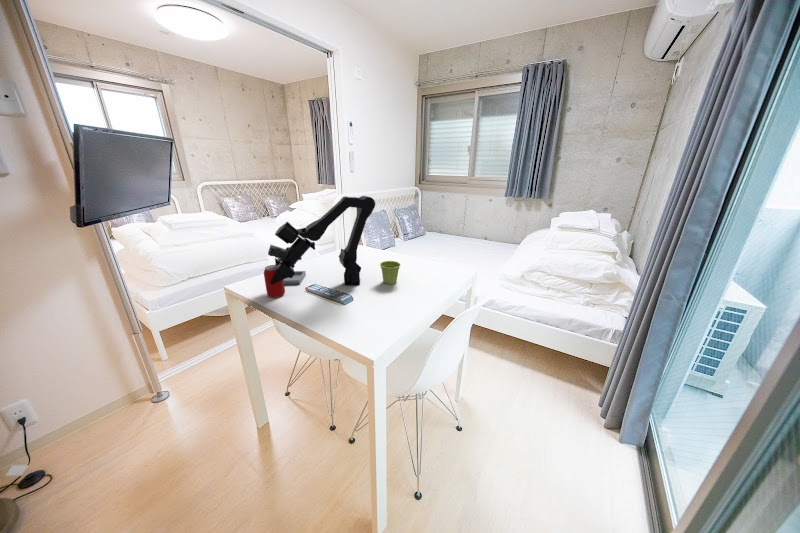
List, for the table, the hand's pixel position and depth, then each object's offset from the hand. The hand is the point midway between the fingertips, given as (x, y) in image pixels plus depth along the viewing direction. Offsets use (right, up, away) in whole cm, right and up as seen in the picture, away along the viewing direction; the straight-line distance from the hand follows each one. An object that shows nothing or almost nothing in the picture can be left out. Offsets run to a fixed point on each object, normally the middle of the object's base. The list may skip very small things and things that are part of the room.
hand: (270, 280), depth 108 cm
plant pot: (+47, -2, +18) cm, 50 cm away
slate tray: (+1, -1, +18) cm, 18 cm away
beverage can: (+1, -6, +3) cm, 7 cm away
